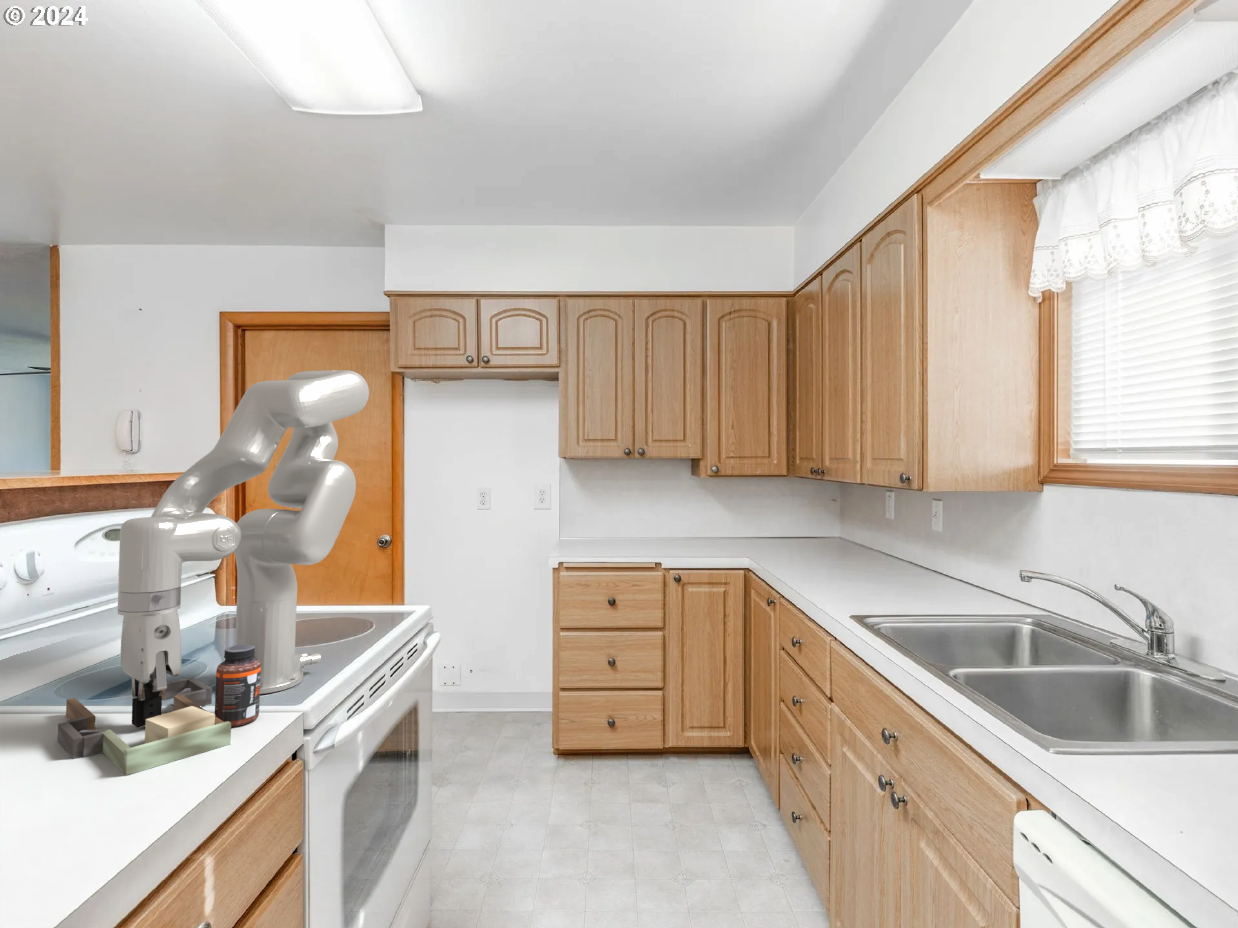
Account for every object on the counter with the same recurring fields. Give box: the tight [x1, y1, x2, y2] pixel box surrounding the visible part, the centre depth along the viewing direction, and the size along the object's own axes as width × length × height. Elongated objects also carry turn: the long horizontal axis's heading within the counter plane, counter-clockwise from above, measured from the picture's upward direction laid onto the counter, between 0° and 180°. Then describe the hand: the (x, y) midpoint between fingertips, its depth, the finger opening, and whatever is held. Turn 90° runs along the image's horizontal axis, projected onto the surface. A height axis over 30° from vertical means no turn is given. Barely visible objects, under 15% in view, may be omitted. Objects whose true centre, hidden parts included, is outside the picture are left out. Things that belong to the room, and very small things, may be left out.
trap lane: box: [57, 677, 232, 776], centre depth 93 cm, size 19×29×3 cm, turn 53°
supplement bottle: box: [214, 645, 261, 728], centre depth 96 cm, size 6×6×11 cm
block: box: [144, 706, 215, 744], centre depth 88 cm, size 6×6×4 cm
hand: (146, 722), depth 93 cm, fingers closed
